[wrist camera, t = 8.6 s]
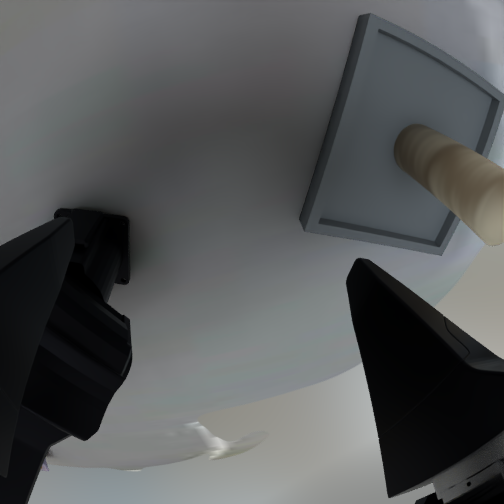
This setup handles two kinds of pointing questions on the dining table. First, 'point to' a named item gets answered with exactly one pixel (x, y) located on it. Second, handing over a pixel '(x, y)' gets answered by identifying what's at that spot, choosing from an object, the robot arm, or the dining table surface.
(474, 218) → the dowel pin
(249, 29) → the dining table surface
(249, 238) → the dining table surface
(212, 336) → the dining table surface
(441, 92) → the charcoal tray
